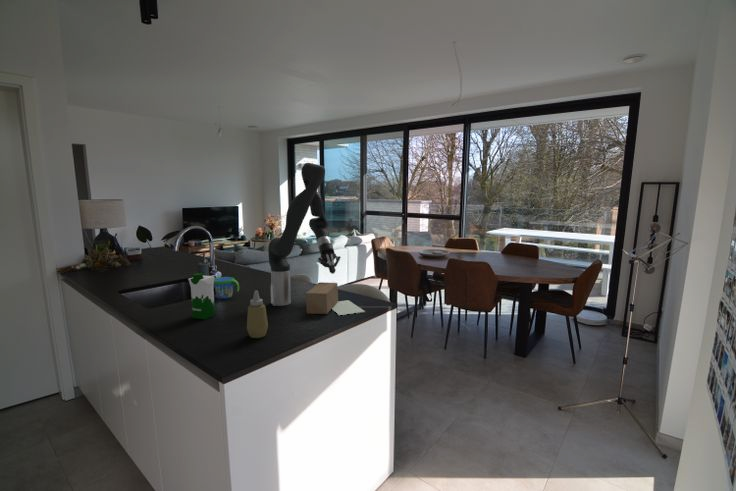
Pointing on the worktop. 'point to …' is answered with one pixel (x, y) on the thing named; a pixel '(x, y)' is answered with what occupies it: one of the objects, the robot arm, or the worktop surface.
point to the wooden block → (321, 298)
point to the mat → (346, 308)
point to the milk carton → (202, 296)
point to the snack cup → (224, 287)
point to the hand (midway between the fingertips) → (333, 272)
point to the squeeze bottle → (257, 317)
